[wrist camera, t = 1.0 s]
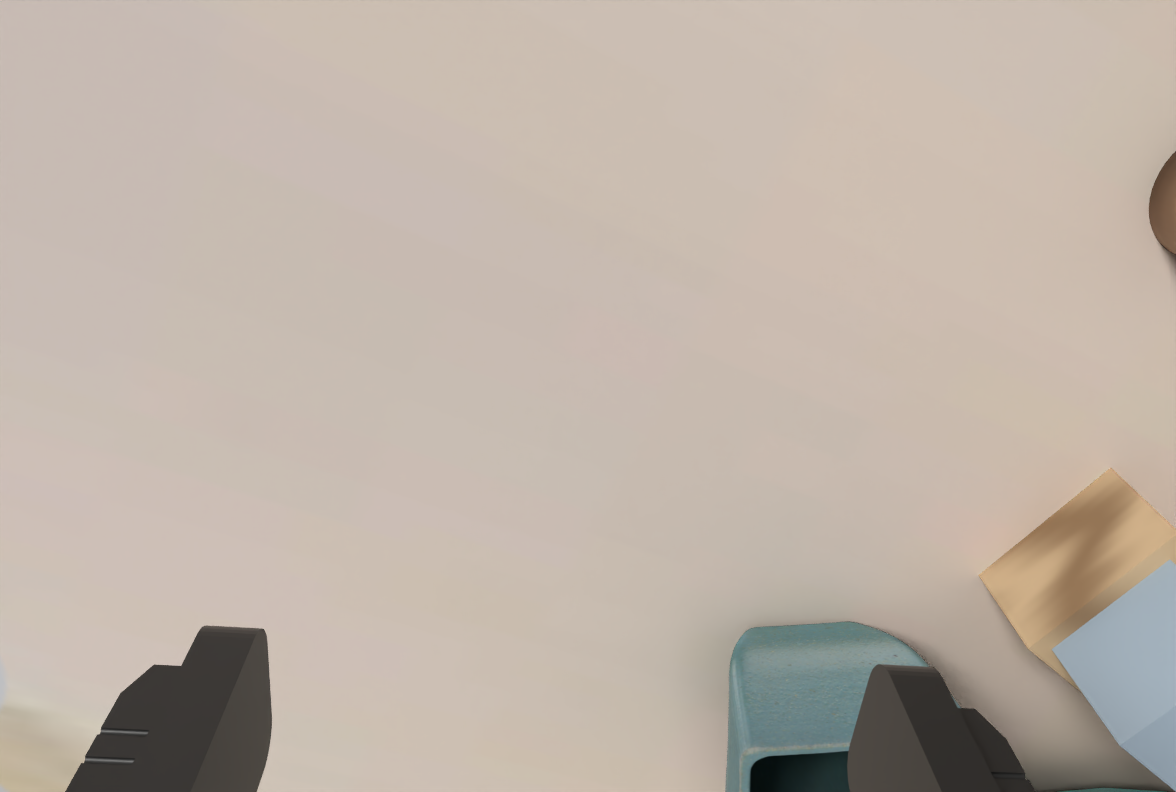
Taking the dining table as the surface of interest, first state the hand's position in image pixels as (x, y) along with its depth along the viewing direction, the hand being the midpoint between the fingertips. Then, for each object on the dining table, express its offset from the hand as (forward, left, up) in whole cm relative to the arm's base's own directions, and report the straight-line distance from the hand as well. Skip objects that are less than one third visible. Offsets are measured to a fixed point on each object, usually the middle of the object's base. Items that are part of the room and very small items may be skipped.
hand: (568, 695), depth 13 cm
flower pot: (+9, +22, -24) cm, 34 cm away
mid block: (-3, +28, -19) cm, 34 cm away
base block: (-3, +28, -24) cm, 37 cm away
